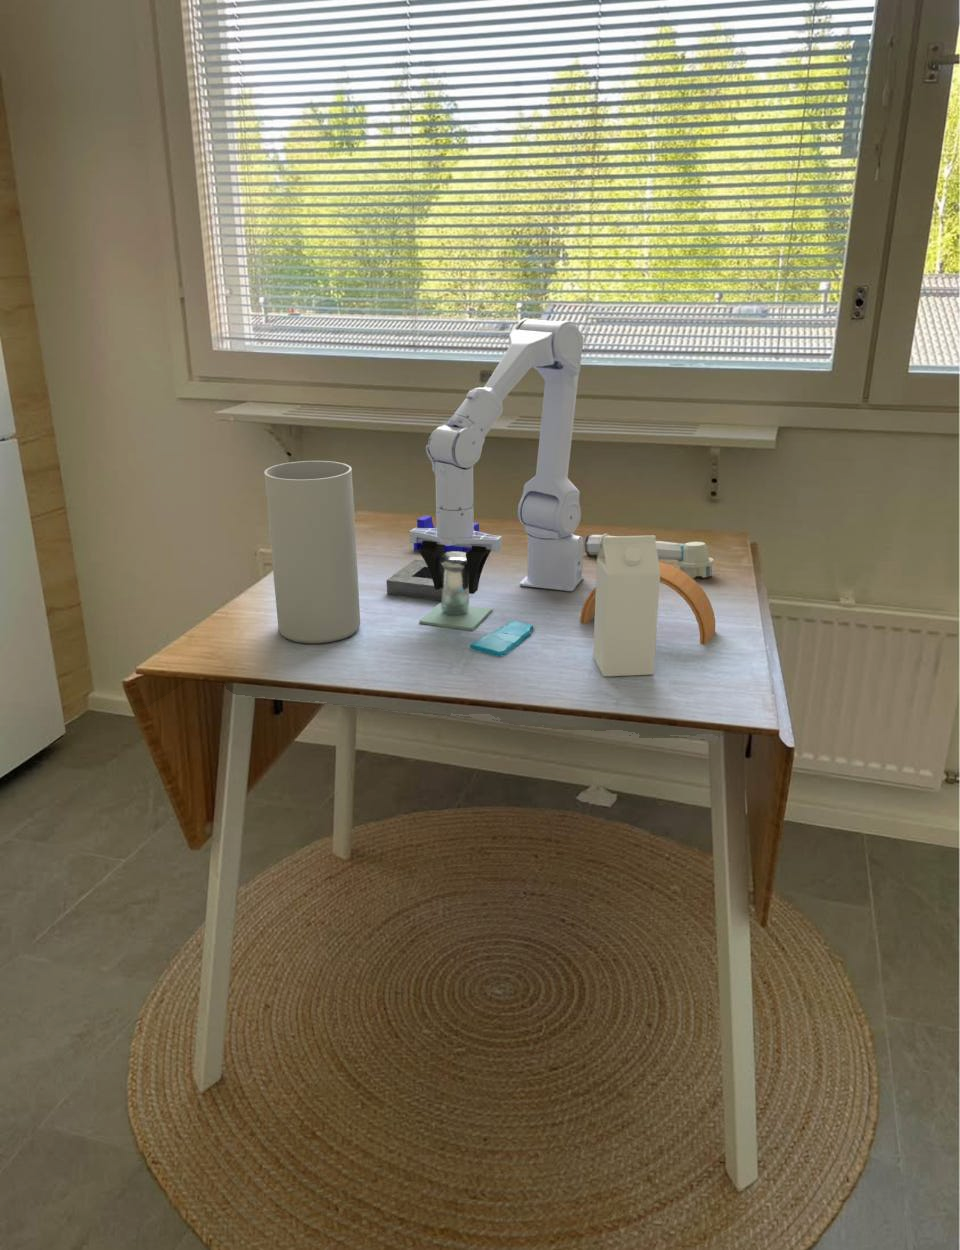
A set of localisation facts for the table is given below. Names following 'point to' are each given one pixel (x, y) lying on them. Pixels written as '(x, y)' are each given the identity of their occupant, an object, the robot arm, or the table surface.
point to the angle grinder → (669, 554)
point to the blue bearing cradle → (427, 523)
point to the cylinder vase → (313, 550)
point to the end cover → (454, 583)
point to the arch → (684, 588)
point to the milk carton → (626, 605)
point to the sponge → (503, 639)
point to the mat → (456, 618)
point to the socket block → (414, 582)
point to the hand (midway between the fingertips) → (456, 589)
